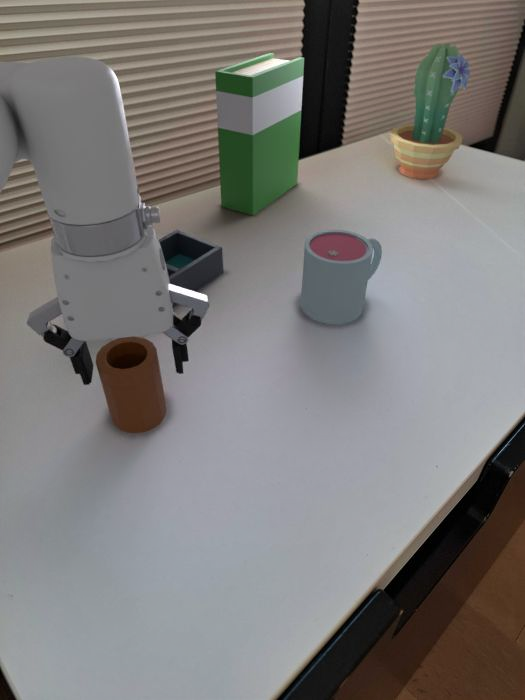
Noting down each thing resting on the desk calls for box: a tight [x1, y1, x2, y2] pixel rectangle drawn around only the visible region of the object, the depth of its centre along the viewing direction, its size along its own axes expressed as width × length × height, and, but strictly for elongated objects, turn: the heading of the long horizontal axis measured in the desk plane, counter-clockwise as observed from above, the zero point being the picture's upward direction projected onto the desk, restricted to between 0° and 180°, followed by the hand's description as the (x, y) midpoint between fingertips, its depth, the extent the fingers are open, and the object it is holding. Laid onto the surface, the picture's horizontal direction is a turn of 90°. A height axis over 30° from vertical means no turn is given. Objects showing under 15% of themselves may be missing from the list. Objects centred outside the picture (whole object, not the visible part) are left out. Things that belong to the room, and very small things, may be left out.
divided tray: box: [158, 229, 224, 308], centre depth 77 cm, size 10×18×5 cm, turn 144°
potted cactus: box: [390, 43, 471, 180], centre depth 107 cm, size 15×15×25 cm
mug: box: [300, 229, 383, 325], centre depth 73 cm, size 14×9×10 cm
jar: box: [95, 336, 167, 434], centre depth 56 cm, size 6×6×9 cm
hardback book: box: [214, 52, 305, 216], centre depth 97 cm, size 18×7×24 cm, turn 148°
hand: (134, 370), depth 55 cm, fingers open, 9 cm apart
